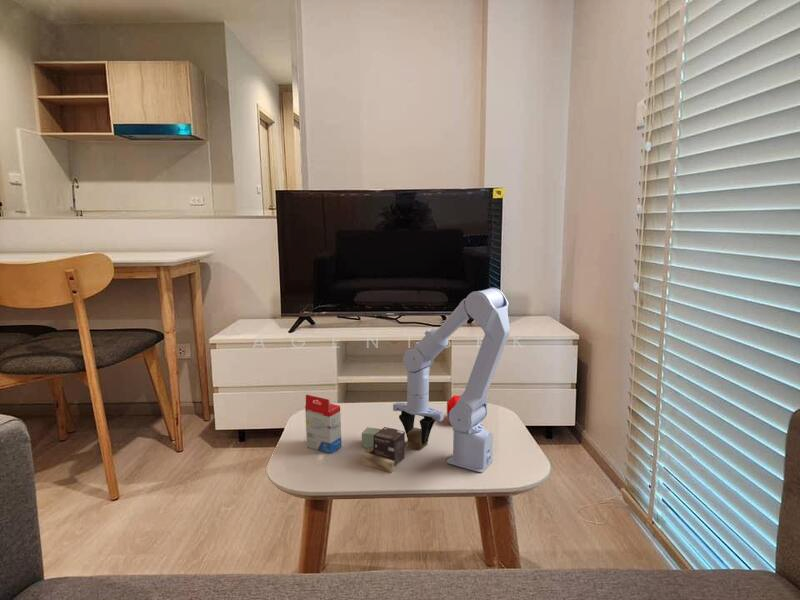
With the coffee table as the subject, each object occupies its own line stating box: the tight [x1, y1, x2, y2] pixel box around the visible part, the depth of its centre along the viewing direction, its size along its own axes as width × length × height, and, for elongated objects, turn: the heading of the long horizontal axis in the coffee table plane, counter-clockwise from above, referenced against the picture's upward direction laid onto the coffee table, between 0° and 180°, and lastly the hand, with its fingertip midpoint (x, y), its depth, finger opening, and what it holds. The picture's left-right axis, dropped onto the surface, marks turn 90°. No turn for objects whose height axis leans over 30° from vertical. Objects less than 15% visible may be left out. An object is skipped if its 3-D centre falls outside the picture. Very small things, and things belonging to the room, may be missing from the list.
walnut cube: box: [406, 427, 429, 451], centre depth 128 cm, size 4×4×4 cm
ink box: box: [304, 394, 342, 454], centre depth 127 cm, size 8×5×15 cm, turn 59°
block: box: [361, 426, 382, 449], centre depth 129 cm, size 4×4×4 cm
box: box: [373, 426, 406, 468], centre depth 120 cm, size 6×6×7 cm
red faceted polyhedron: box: [446, 395, 461, 419], centre depth 144 cm, size 8×8×8 cm
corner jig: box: [360, 446, 395, 474], centre depth 120 cm, size 9×9×2 cm
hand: (417, 440), depth 128 cm, fingers closed on walnut cube, 4 cm apart
